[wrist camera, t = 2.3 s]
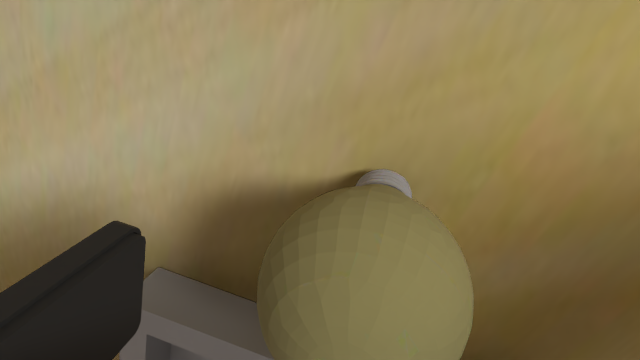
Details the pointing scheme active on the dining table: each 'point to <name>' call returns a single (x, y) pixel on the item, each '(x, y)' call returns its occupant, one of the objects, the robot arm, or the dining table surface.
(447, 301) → the light bulb
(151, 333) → the socket board
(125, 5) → the dining table surface
